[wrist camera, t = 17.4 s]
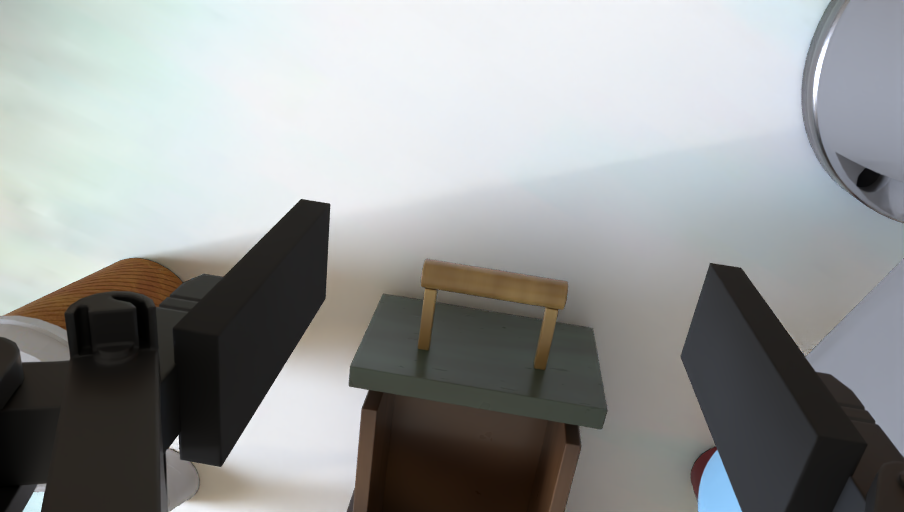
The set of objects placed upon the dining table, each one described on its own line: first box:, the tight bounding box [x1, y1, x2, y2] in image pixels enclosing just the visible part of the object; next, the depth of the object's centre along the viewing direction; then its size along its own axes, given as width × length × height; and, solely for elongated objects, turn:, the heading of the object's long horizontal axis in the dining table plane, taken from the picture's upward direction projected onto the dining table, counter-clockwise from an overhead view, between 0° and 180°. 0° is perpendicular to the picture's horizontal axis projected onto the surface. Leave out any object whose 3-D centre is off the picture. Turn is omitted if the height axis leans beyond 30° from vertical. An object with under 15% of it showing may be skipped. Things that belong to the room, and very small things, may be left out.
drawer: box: [349, 259, 607, 512], centre depth 37 cm, size 22×12×8 cm, turn 173°
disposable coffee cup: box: [0, 258, 183, 492], centre depth 36 cm, size 10×10×12 cm
